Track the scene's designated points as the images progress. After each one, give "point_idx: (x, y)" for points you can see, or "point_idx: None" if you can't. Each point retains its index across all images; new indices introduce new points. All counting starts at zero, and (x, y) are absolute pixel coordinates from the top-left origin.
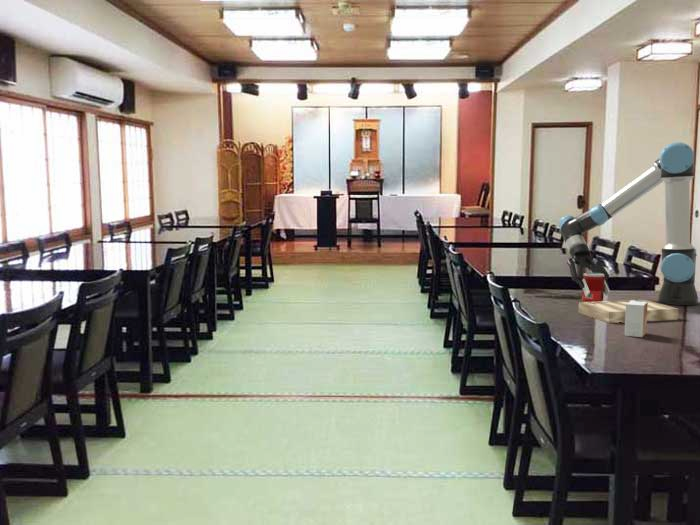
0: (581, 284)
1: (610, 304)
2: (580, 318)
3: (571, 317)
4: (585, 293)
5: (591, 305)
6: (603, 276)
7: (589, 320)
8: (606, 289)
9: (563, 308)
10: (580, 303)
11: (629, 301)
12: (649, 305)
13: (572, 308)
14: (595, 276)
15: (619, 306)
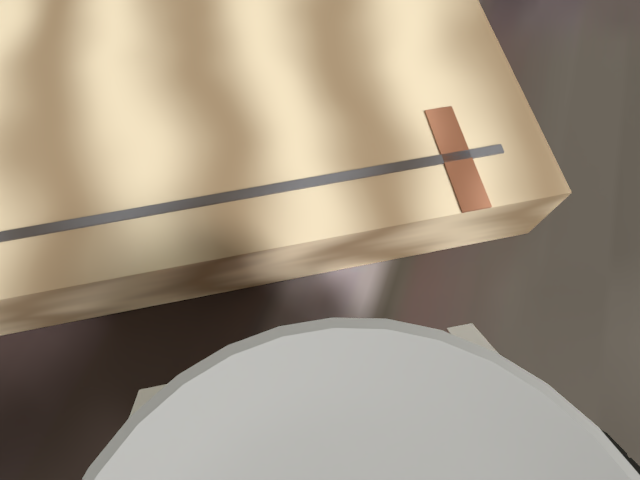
0: (617, 446)
1: (314, 96)
2: (544, 61)
3: (598, 87)
4: None
5: (486, 63)
6: (169, 392)
7: (500, 15)
8: None
9: (637, 439)
10: (556, 170)
11: (59, 221)
12: (17, 54)
13: None
14: (409, 331)
15: (279, 27)
